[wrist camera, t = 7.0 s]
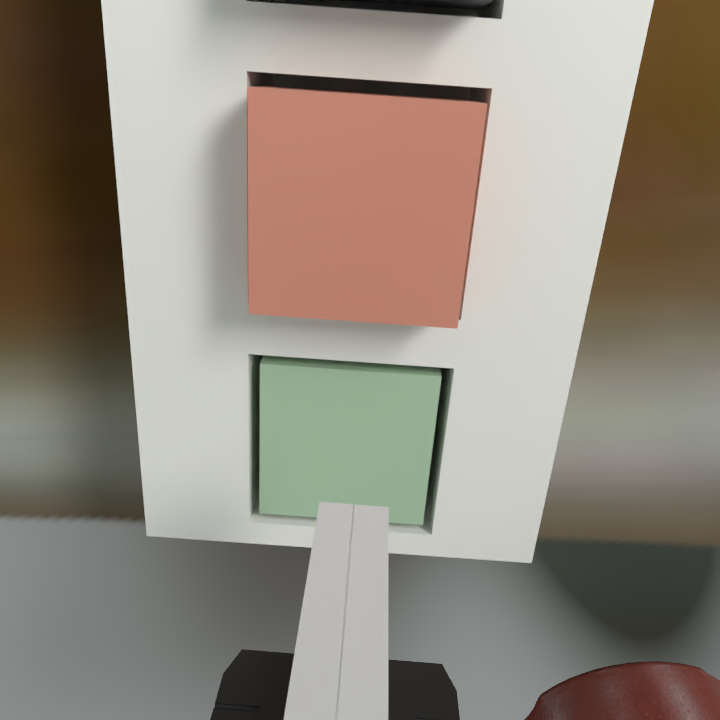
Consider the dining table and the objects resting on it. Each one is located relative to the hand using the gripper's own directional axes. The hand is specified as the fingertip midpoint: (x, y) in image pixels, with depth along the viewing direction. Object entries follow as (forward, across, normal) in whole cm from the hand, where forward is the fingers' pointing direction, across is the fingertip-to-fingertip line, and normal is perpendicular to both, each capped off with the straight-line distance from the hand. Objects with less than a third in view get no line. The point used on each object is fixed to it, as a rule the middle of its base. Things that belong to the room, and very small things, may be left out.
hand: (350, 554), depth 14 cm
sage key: (+8, 0, 0) cm, 8 cm away
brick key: (+6, 0, +7) cm, 9 cm away
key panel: (+9, 0, +7) cm, 11 cm away
